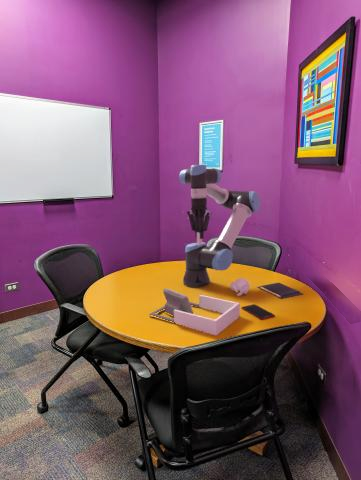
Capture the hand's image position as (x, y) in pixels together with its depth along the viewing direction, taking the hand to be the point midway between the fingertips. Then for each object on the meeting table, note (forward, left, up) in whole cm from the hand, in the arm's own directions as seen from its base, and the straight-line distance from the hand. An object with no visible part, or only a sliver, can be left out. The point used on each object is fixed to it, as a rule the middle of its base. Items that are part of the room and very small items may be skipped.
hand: (199, 244), depth 170 cm
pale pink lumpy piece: (+15, +13, -27) cm, 33 cm away
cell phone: (+33, -5, -27) cm, 43 cm away
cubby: (+17, -24, -26) cm, 39 cm away
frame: (+1, -24, -26) cm, 35 cm away
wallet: (+32, +27, -27) cm, 50 cm away
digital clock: (+4, -25, -27) cm, 36 cm away
